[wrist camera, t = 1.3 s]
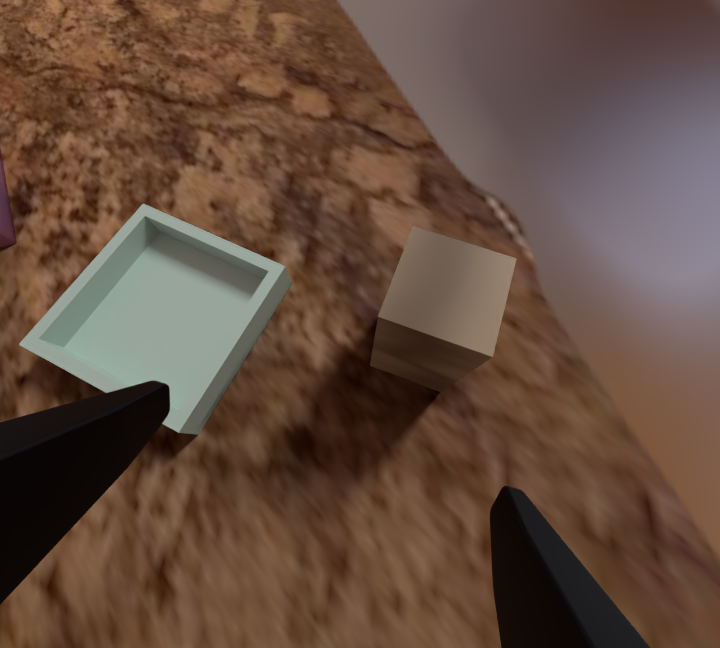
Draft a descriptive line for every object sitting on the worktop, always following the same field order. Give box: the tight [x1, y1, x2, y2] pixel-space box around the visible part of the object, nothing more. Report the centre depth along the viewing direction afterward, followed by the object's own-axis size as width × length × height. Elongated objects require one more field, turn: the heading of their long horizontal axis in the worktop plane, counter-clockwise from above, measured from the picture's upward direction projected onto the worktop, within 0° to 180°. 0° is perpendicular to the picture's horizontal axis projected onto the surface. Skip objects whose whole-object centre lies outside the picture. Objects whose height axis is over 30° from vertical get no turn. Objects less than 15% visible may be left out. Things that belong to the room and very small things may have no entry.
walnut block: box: [370, 226, 516, 392], centre depth 19 cm, size 5×5×9 cm
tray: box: [19, 204, 292, 435], centre depth 23 cm, size 12×12×2 cm
